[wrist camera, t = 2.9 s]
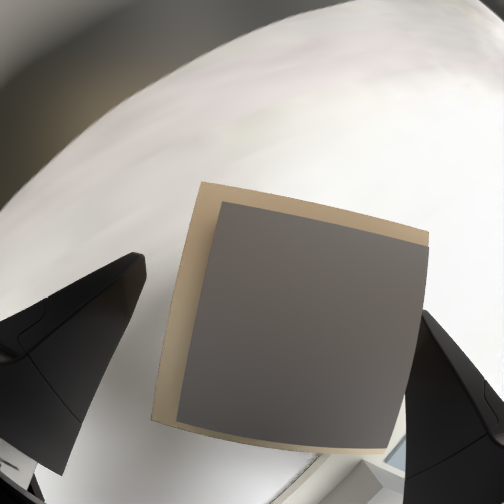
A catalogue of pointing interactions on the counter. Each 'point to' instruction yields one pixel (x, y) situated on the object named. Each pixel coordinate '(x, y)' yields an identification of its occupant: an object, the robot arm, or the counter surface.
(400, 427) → the socket panel
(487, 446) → the robot arm
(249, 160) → the counter surface
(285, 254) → the plug
